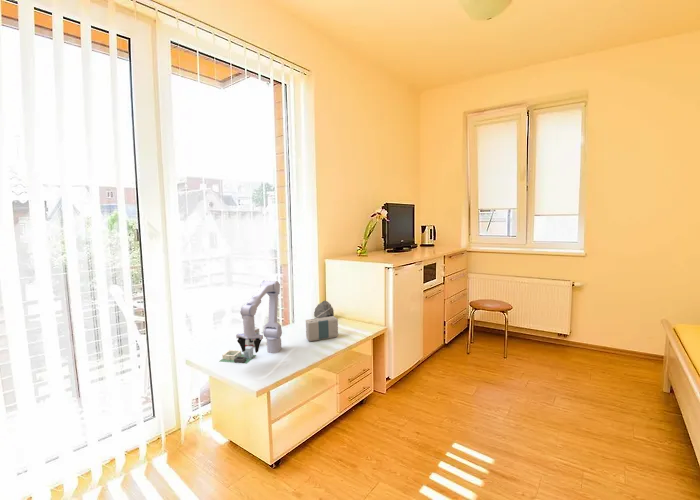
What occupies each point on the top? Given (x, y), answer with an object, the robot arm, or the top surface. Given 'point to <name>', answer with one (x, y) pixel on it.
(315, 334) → the stereo radio cassette player
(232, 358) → the frame
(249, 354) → the plug
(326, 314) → the decorative rock
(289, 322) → the top surface
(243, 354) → the board
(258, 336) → the robot arm
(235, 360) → the block
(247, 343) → the ink box
